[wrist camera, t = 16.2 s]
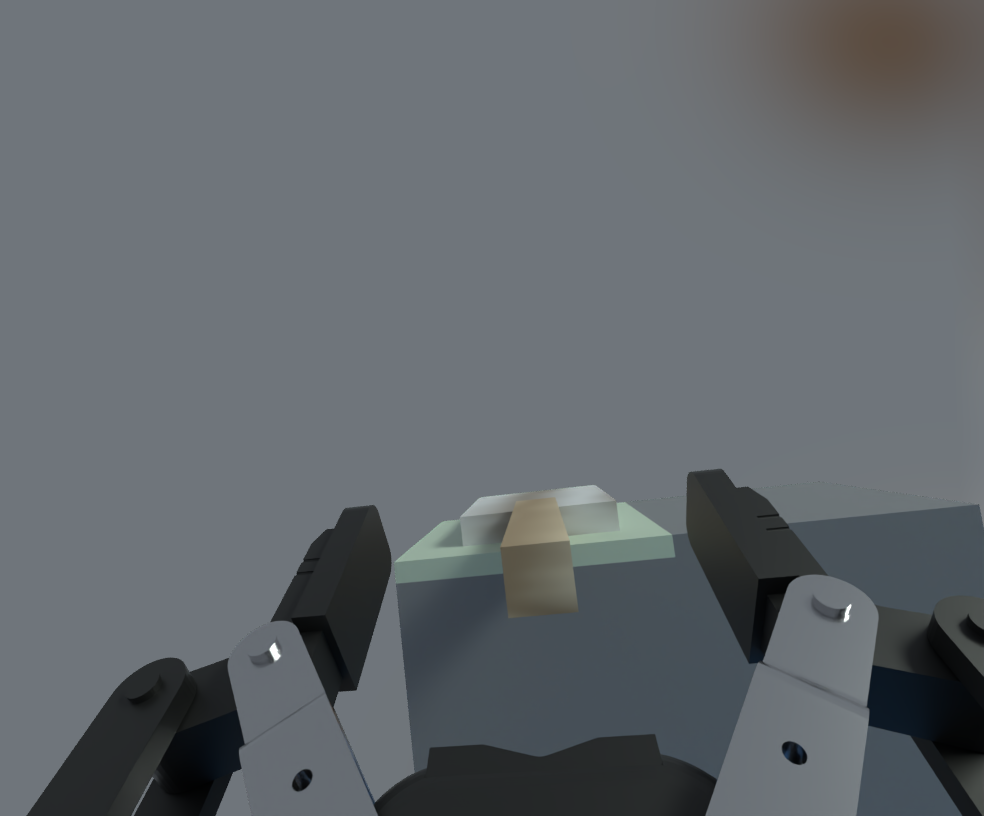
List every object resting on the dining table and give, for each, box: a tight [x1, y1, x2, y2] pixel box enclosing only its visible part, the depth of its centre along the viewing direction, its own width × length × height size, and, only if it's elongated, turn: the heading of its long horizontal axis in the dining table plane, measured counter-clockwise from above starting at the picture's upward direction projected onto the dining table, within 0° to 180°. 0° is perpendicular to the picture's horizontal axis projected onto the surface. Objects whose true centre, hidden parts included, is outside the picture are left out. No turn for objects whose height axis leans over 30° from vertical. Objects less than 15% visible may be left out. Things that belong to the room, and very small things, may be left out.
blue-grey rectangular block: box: [394, 482, 984, 816], centre depth 27 cm, size 26×12×32 cm, turn 85°
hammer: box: [460, 485, 620, 618], centre depth 24 cm, size 8×20×2 cm, turn 175°
